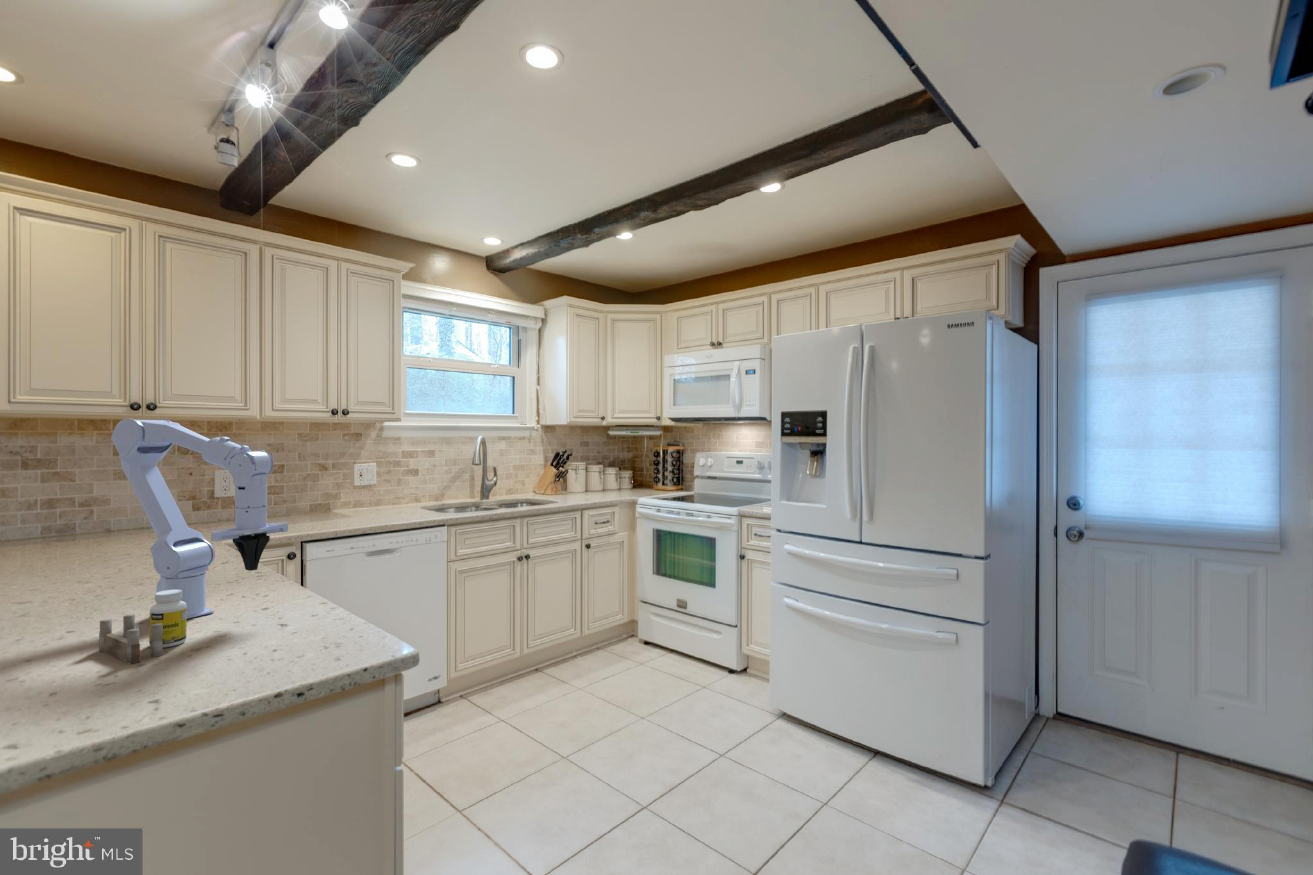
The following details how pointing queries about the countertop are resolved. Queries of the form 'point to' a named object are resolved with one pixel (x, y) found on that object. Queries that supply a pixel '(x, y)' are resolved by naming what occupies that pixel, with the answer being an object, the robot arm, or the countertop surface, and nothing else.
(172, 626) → the supplement bottle
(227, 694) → the countertop surface
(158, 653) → the pin seat
